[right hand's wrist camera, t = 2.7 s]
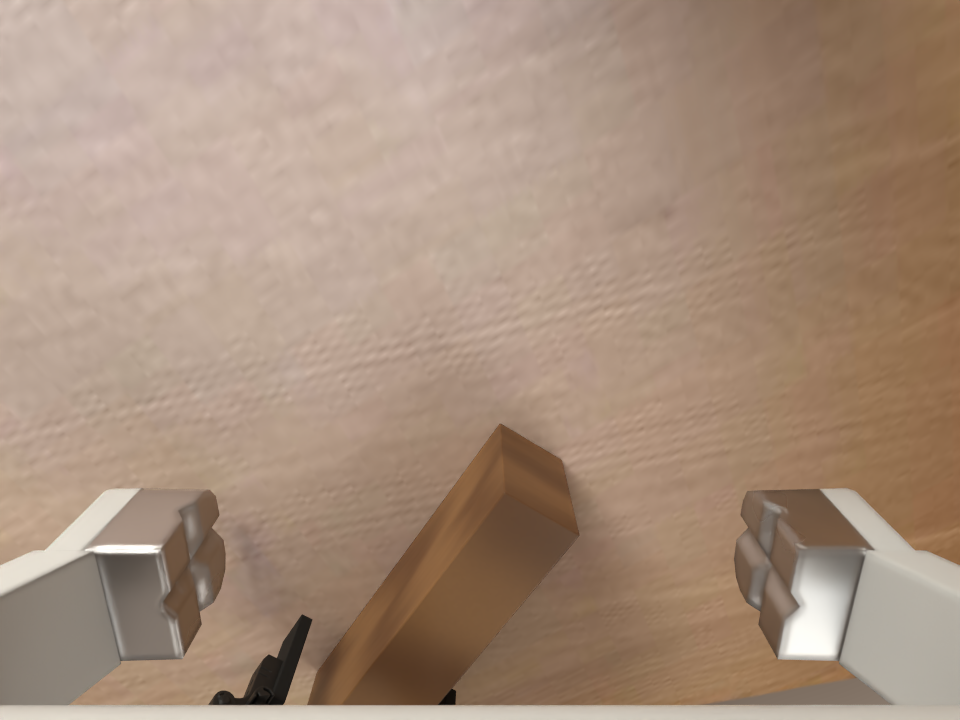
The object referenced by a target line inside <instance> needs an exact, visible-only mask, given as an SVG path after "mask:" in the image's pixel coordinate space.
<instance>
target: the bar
mask: <svg viewBox="0 0 960 720" xmlns="http://www.w3.org/2000/svg"><path fill="white" fill-rule="evenodd" d="M578 537H579V531H578V527H577V523H576V519H575V514H574V510H573V506H572V501H571V497H570V493H569V489H568V484H567V480H566V476H565V472H564V467H563V463H562V460H561V459H559V458H557V457H556V456H554V455H552V454H551V453H549V452H547V451H546V450H544V449H542V448H541V447H539V446H537V445H536V444H534V443H532V442H530V441H529V440H527V439H525V438H524V437H522V436H520V435H519V434H517V433H515V432H514V431H512V430H510V429H509V428H507V427H505V426H504V425H502V424H499V426H498V427H497V428H496V430H495V431H494V432H493V434H492V435H491V436H490V438H489V439H488V441H487V442H486V443H485V445H484V446H483V447H482V449H481V450H480V451H479V453H478V454H477V456H476V457H475V458H474V460H473V461H472V462H471V464H470V465H469V466H468V468H467V469H466V470H465V472H464V473H463V475H462V476H461V477H460V479H459V480H458V481H457V483H456V484H455V485H454V487H453V488H452V490H451V491H450V492H449V494H448V495H447V496H446V498H445V499H444V500H443V502H442V503H441V504H440V506H439V507H438V509H437V510H436V511H435V513H434V514H433V515H432V517H431V518H430V519H429V521H428V522H427V524H426V525H425V526H424V528H423V529H422V530H421V532H420V533H419V534H418V536H417V537H416V538H415V540H414V541H413V543H412V544H411V545H410V547H409V548H408V549H407V551H406V552H405V553H404V555H403V556H402V558H401V559H400V560H399V562H398V563H397V564H396V566H395V567H394V568H393V570H392V571H391V572H390V574H389V575H388V577H387V578H386V579H385V581H384V582H383V583H382V585H381V586H380V587H379V589H378V590H377V592H376V593H375V594H374V596H373V597H372V598H371V600H370V601H369V602H368V604H367V605H366V606H365V608H364V609H363V611H362V612H361V613H360V615H359V616H358V617H357V619H356V620H355V621H354V623H353V624H352V626H351V627H350V628H349V630H348V631H347V632H346V634H345V635H344V636H343V638H342V639H341V640H340V642H339V643H338V645H337V646H336V647H335V649H334V650H333V651H332V653H331V654H330V655H329V657H328V658H327V660H326V661H325V662H324V664H323V665H322V666H321V668H320V669H319V670H318V672H317V674H316V677H315V681H314V684H313V687H312V691H311V694H310V698H309V701H308V705H438V704H439V703H440V702H441V701H442V699H443V698H444V697H445V696H446V695H447V693H448V692H449V691H450V690H451V689H452V687H453V686H454V685H455V684H456V683H457V681H458V680H459V679H460V678H461V677H462V675H463V674H464V673H465V672H466V671H467V670H468V668H469V667H470V666H471V665H472V664H473V662H474V661H475V660H476V659H477V658H478V656H479V655H480V654H481V653H482V652H483V650H484V649H485V648H486V647H487V646H488V644H489V643H490V642H491V641H492V640H493V638H494V637H495V636H496V635H497V634H498V632H499V631H500V630H501V629H502V628H503V626H504V625H505V624H506V623H507V622H508V620H509V619H510V618H511V617H512V616H513V614H514V613H515V612H516V611H517V610H518V608H519V607H520V606H521V605H522V604H523V603H524V601H525V600H526V599H527V598H528V597H529V595H530V594H531V593H532V592H533V591H534V589H535V588H536V587H537V586H538V585H539V583H540V582H541V581H542V580H543V579H544V577H545V576H546V575H547V574H548V573H549V571H550V570H551V569H552V568H553V567H554V565H555V564H556V563H557V562H558V561H559V559H560V558H561V557H562V556H563V555H564V553H565V552H566V551H567V550H568V549H569V547H570V546H571V545H572V544H573V543H574V542H575V540H576V539H577V538H578Z"/></svg>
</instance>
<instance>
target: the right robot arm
mask: <svg viewBox="0 0 960 720" xmlns="http://www.w3.org/2000/svg"><path fill="white" fill-rule="evenodd" d="M218 517H219V510H218V505H217V500H216V496H215V495H214V494H213V493H212V492H211V491H210V490H189V489H143V488H123V489H110V490H105V491H104V492H103V493H102V494H101V495H100V496H99V497H98V498H97V499H96V500H95V501H94V502H93V503H92V504H91V505H90V506H89V507H88V508H87V509H86V510H85V511H84V512H83V513H82V514H81V515H80V516H79V517H78V518H77V519H76V520H75V521H74V522H73V523H72V524H71V525H70V526H69V527H68V528H67V529H66V530H65V531H64V532H63V533H62V534H61V535H60V536H59V537H58V538H57V539H56V540H55V541H54V542H53V543H52V544H51V545H50V546H49V547H48V548H47V549H46V550H45V551H32V552H29V553H27V554H25V555H23V556H20V557H18V558H16V559H14V560H11V561H9V562H7V563H5V564H2V565H0V720H960V565H958V564H955V563H953V562H951V561H949V560H946V559H944V558H942V557H940V556H937V555H935V554H933V553H931V552H928V551H915V550H914V549H913V548H912V547H911V546H910V545H909V544H908V543H907V542H906V541H905V540H904V539H903V538H902V537H901V536H900V535H899V534H898V533H897V532H896V531H895V530H894V529H893V528H892V527H891V526H890V525H889V524H888V523H887V522H886V521H885V520H884V519H883V518H882V517H881V516H880V515H879V514H878V513H877V512H876V511H875V510H874V509H873V508H872V507H871V506H870V505H869V504H868V503H867V502H866V501H865V500H864V499H863V498H862V497H861V496H860V495H859V494H858V493H857V492H856V491H854V490H851V489H848V488H832V489H801V490H761V491H747V493H746V495H745V498H744V500H743V504H742V509H741V517H742V518H743V520H744V521H745V523H746V524H747V526H748V529H747V530H746V531H745V532H744V533H743V534H742V535H741V536H740V537H739V538H738V539H737V540H736V548H735V557H734V562H735V572H736V579H737V582H738V585H739V588H740V591H741V593H742V595H743V597H744V599H745V601H746V602H747V603H748V604H750V605H751V606H753V607H754V608H756V609H757V610H759V611H760V618H759V624H758V625H759V626H760V628H761V630H762V632H763V634H764V635H765V637H766V639H767V641H768V643H769V644H770V646H771V648H772V650H773V652H774V653H775V655H776V657H777V659H792V660H828V661H839V664H840V665H841V666H843V667H844V668H845V669H847V670H848V671H849V672H850V673H852V674H853V675H854V676H855V677H857V678H858V679H859V680H861V681H862V682H863V683H864V684H866V685H867V686H868V687H870V688H871V689H872V690H873V691H875V692H876V693H877V694H879V695H880V696H881V697H882V698H884V699H885V700H886V701H887V702H889V703H890V704H891V705H69V704H70V703H72V702H73V701H74V700H75V699H77V698H78V697H79V696H81V695H82V694H83V693H84V692H86V691H87V690H88V689H89V688H91V687H92V686H93V685H95V684H96V683H97V682H98V681H100V680H101V679H102V678H103V677H105V676H106V675H107V674H109V673H110V672H111V671H112V670H114V669H115V668H116V667H118V666H119V665H120V664H121V662H120V661H131V660H166V659H183V657H184V655H185V653H186V652H187V650H188V648H189V646H190V644H191V643H192V641H193V639H194V637H195V635H196V634H197V632H198V630H199V628H200V626H201V625H202V624H201V618H200V611H201V610H203V609H204V608H206V607H207V606H209V605H210V604H212V603H213V602H214V601H215V599H216V597H217V595H218V593H219V591H220V589H221V585H222V581H223V577H224V573H225V547H224V540H223V539H222V538H221V537H220V536H219V535H218V534H217V533H216V532H215V531H214V530H213V529H212V526H213V524H214V523H215V521H216V520H217V518H218Z"/></svg>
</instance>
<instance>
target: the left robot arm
mask: <svg viewBox="0 0 960 720" xmlns="http://www.w3.org/2000/svg"><path fill="white" fill-rule="evenodd" d="M311 622H312V619H310V618H308V617H306V616H304V615H301V617H300V618H299V620H298V621H297V623H296V624H295V625H294V627H293V628H292V630H291V631H290V633H289V634H288V636H287V637H286V638H285V640H284V641H283V643H282V646H281V649H280V651H279V654H278V657H277V658H275V657H273V656H271V655H268V656H267V657H265V658H264V659H263V661H262V662H261V663H260V665H259V666H258V668H257V669H256V671H255V672H254V674H253V675H252V678H251V680H250V683H249V685H248V688H247V690H246V692H245V695H244V697H243V698H234V696H233V695H232V694H231V693H230V692H228V691H220V692H217V694H216V695H215V696H214V697H213V699H212V700H211V702H210V703H209V705H283V704H284V703H285V700H286V697H287V694H288V691H289V688H290V685H291V682H292V679H293V676H294V673H295V670H296V667H297V664H298V661H299V658H300V655H301V652H302V649H303V646H304V643H305V640H306V637H307V634H308V631H309V628H310V625H311ZM455 701H456V691H455V690H453V689H451V690H450V691H449V692H448V693H447V695H446V696H445V697H444V698H443V699H442V701H441V702H440V703H439V704H438V705H455Z"/></svg>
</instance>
